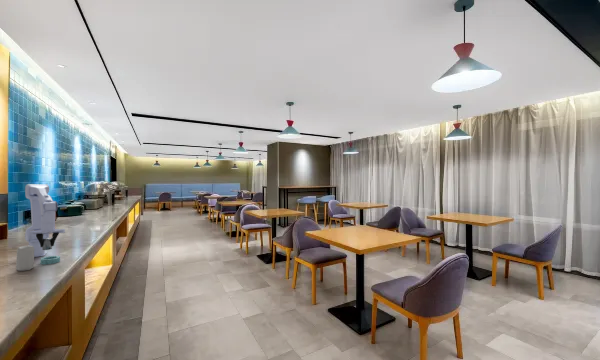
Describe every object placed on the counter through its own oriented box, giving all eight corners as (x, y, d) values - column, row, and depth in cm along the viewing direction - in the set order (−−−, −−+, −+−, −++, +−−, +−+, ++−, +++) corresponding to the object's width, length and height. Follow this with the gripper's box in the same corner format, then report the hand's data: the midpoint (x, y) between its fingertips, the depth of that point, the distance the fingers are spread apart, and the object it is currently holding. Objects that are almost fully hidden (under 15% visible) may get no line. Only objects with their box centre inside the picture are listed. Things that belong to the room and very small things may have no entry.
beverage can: (22, 272, 135) (23, 248, 135) (12, 270, 136) (13, 247, 136) (36, 268, 141) (37, 245, 141) (27, 266, 142) (28, 244, 142)
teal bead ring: (41, 261, 152) (42, 257, 152) (60, 259, 156) (60, 255, 156) (39, 265, 145) (39, 260, 145) (58, 262, 150) (59, 258, 150)
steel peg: (43, 248, 151) (43, 238, 151) (52, 247, 154) (52, 237, 154) (41, 250, 148) (42, 239, 148) (51, 249, 151) (51, 239, 151)
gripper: (28, 224, 144) (27, 249, 143) (64, 222, 152) (63, 246, 152) (31, 222, 149) (30, 246, 149) (65, 221, 158) (64, 243, 158)
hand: (47, 246), depth 151 cm, fingers closed on steel peg, 4 cm apart
